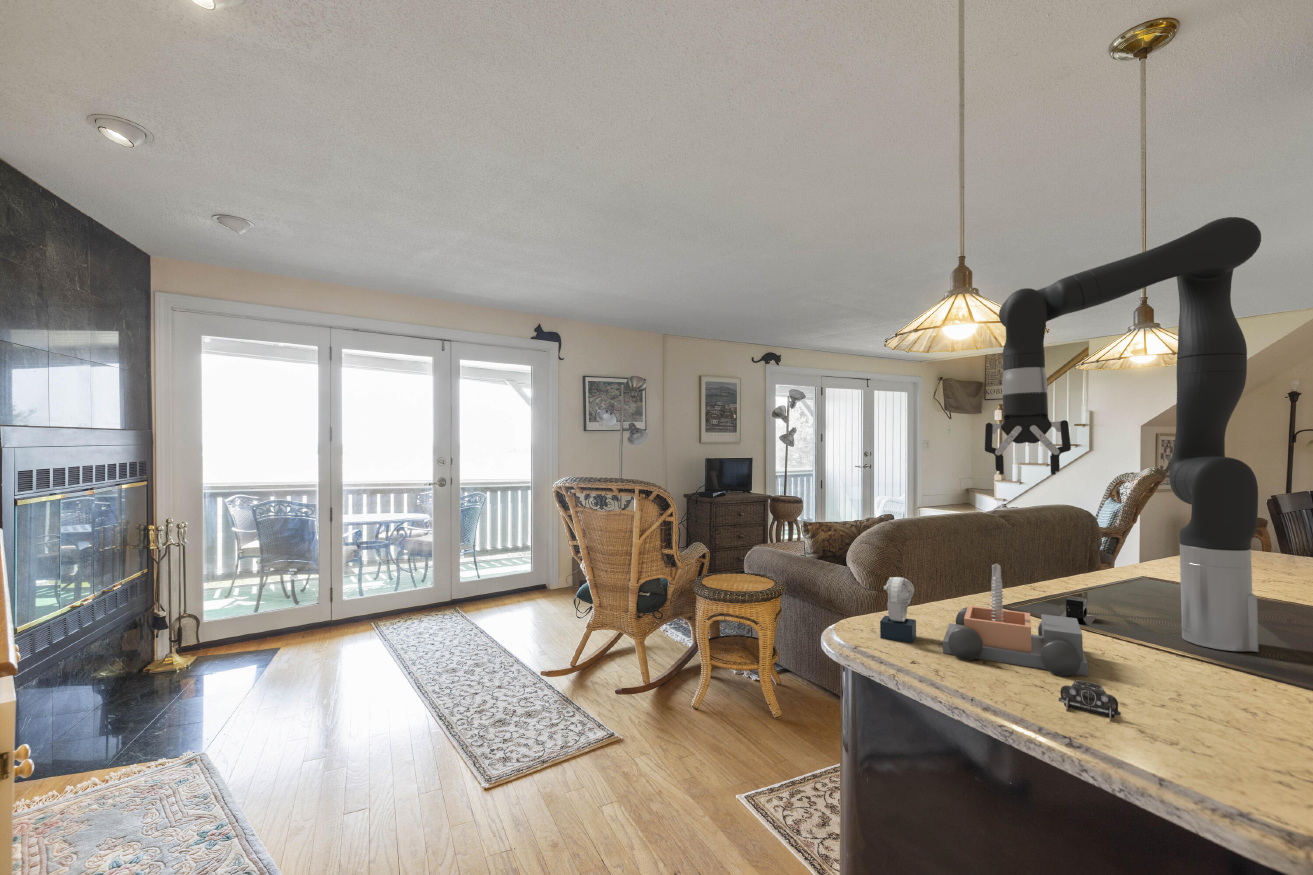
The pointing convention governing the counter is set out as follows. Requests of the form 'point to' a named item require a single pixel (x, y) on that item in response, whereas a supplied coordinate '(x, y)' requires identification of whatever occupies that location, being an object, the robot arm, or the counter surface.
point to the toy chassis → (1018, 640)
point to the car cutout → (1089, 699)
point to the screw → (996, 594)
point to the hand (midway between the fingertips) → (1027, 474)
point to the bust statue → (898, 612)
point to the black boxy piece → (1078, 610)
